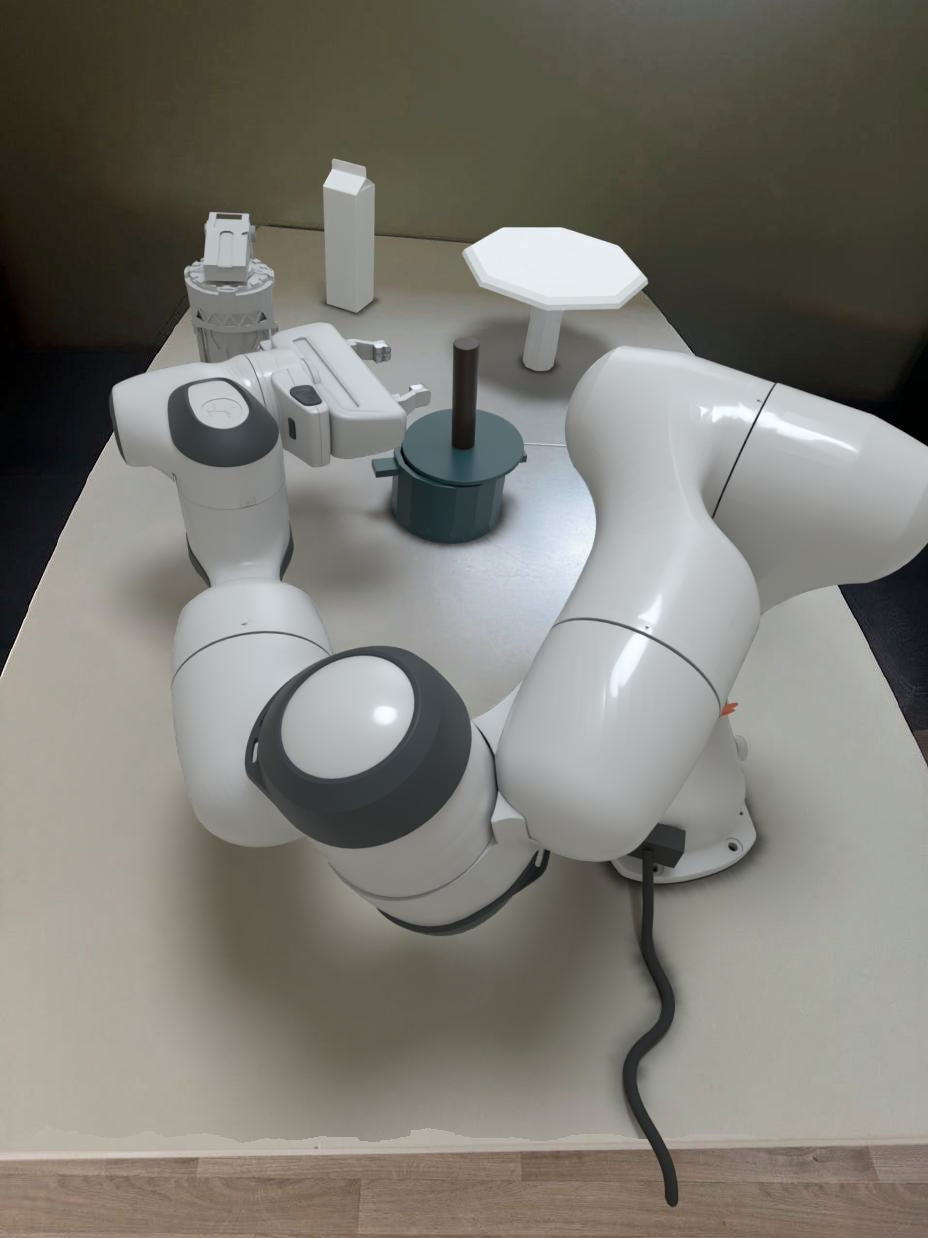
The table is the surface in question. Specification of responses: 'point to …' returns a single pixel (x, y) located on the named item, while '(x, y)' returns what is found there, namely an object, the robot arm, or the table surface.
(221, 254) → the lantern
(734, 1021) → the table surface
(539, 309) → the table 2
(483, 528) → the pot
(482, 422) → the lid
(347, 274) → the milk
